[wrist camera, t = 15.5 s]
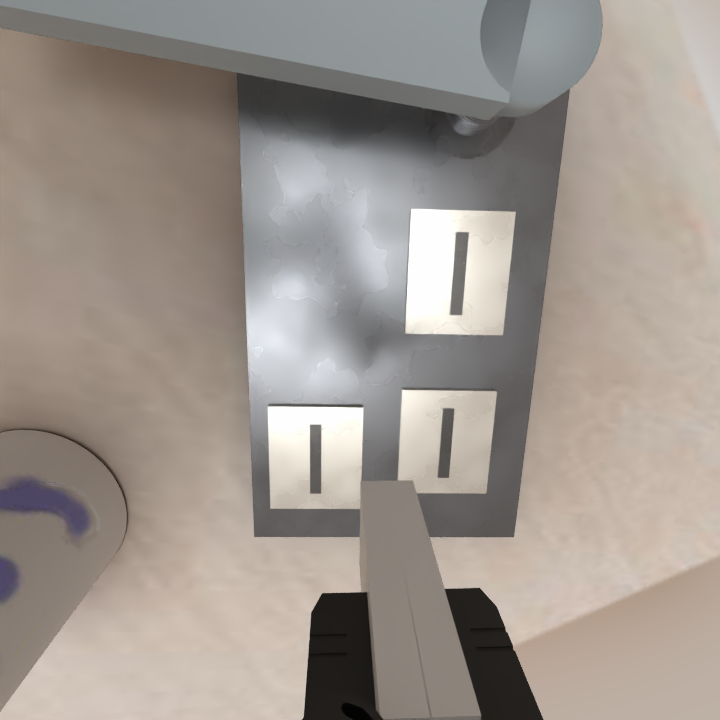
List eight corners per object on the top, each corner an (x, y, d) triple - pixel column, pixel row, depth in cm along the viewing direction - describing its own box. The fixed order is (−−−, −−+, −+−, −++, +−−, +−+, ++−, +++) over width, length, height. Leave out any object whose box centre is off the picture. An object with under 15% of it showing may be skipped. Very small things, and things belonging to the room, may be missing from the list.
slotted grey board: (242, 70, 21) (234, 56, 20) (559, 83, 22) (576, 70, 20) (258, 524, 27) (253, 541, 26) (506, 524, 28) (516, 541, 26)
